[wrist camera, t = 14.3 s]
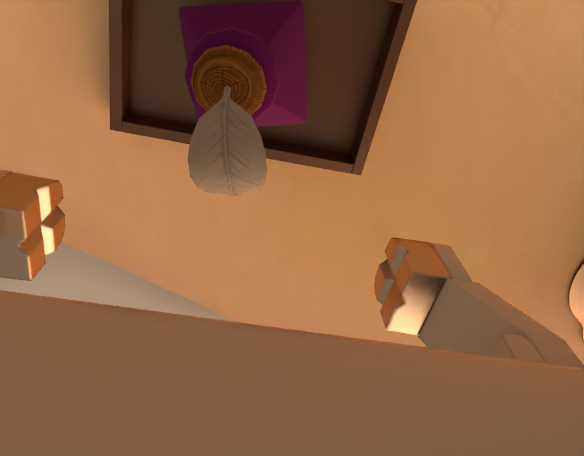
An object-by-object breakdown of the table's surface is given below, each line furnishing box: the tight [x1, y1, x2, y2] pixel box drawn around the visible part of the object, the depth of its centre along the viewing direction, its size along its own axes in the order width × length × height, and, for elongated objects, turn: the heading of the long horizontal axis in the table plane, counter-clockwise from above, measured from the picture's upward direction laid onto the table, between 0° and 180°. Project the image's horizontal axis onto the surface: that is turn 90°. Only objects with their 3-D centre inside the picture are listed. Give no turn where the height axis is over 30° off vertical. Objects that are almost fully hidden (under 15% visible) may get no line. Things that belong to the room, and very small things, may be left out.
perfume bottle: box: [179, 0, 307, 196], centre depth 22 cm, size 8×8×18 cm
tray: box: [109, 0, 417, 175], centre depth 29 cm, size 19×13×2 cm
